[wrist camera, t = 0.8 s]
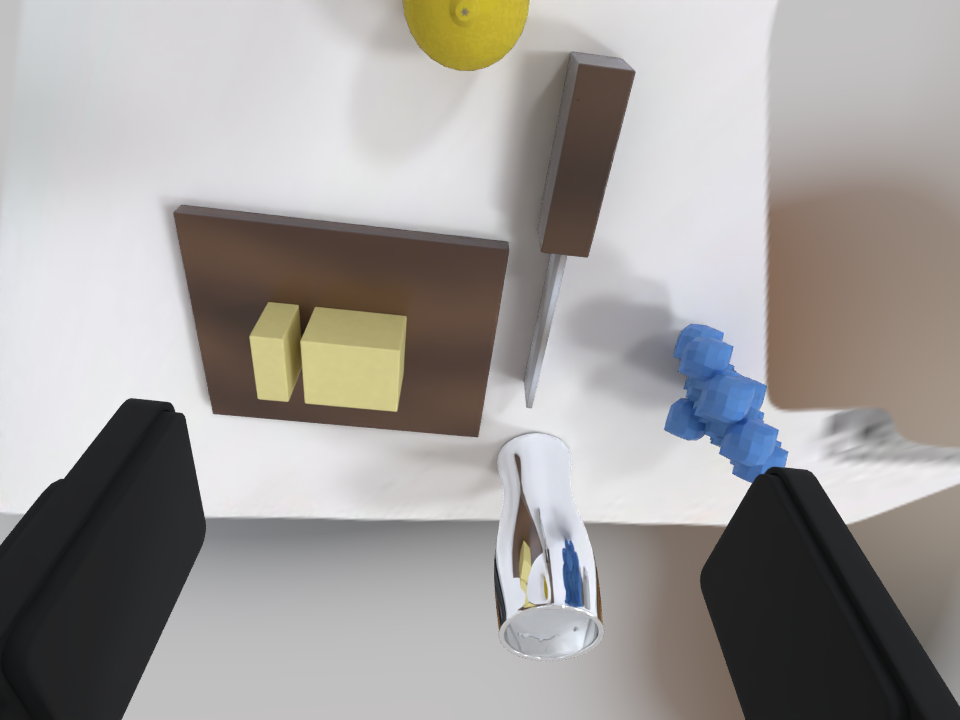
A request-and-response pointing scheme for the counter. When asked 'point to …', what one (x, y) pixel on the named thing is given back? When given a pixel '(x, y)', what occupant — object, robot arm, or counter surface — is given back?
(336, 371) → the butter block
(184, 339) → the counter surface
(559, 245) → the knife
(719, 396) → the grapes
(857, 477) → the counter surface
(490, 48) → the lemon
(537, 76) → the counter surface
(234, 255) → the board
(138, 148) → the counter surface
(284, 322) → the butter slice
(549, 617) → the beer glass
